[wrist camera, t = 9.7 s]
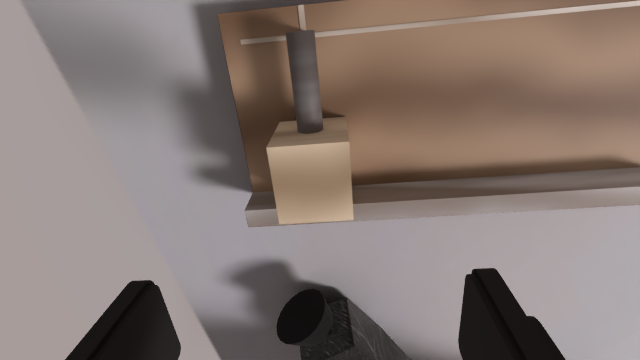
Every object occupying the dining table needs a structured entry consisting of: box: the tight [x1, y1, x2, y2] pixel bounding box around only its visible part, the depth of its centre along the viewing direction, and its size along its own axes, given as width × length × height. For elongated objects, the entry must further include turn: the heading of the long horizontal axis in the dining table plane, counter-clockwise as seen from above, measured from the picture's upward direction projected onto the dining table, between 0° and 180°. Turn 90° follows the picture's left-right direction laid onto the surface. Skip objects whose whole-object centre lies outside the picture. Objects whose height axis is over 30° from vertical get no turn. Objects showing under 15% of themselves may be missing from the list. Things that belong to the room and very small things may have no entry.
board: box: [217, 0, 640, 227], centre depth 19 cm, size 12×25×4 cm, turn 95°
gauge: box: [266, 30, 354, 224], centre depth 18 cm, size 9×4×4 cm, turn 5°
